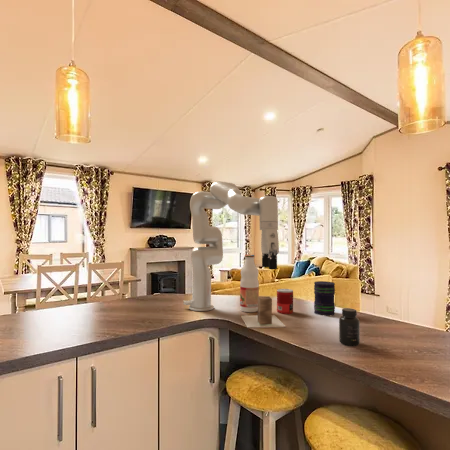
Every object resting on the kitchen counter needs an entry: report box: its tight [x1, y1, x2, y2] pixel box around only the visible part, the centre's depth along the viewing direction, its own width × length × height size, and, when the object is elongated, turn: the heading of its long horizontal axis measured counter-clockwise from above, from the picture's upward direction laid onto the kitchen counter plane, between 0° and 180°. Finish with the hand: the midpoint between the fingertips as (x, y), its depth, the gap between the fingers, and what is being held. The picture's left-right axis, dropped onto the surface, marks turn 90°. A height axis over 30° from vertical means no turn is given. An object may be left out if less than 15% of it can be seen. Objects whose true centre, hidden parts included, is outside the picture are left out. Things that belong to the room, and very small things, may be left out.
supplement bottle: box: [338, 307, 361, 347], centre depth 114 cm, size 7×7×12 cm
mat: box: [240, 314, 286, 329], centre depth 141 cm, size 16×18×1 cm
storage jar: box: [313, 280, 336, 317], centre depth 158 cm, size 10×10×15 cm
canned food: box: [276, 288, 294, 315], centre depth 159 cm, size 8×8×11 cm
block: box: [257, 296, 273, 326], centre depth 136 cm, size 5×5×11 cm
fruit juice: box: [239, 254, 260, 313], centre depth 162 cm, size 9×9×28 cm
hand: (269, 268), depth 131 cm, fingers open, 9 cm apart
